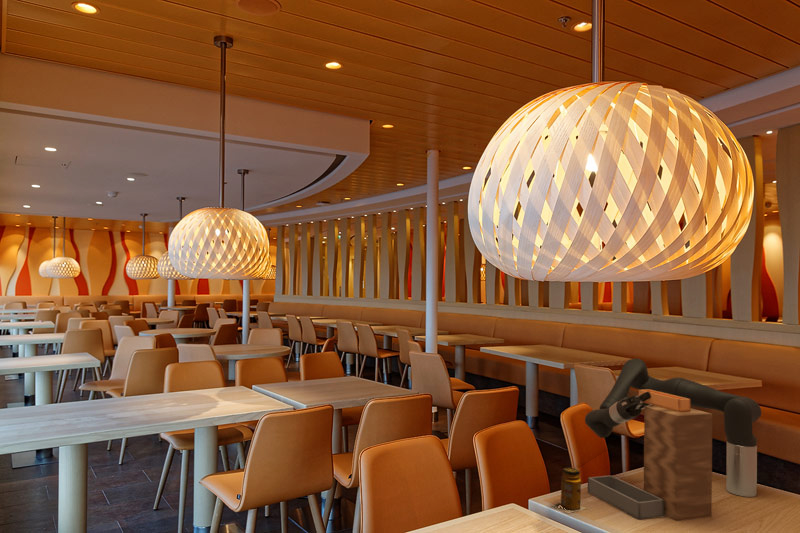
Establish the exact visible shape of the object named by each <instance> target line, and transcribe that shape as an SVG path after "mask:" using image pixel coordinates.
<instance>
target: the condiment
mask: <svg viewBox="0 0 800 533" xmlns="http://www.w3.org/2000/svg"><path fill="white" fill-rule="evenodd" d="M580 476H581V471H580V470H579V469H578V468H575V467H564V468H563V469H562V476H561V479H560V480H561V482H560V483H561V484H560V485H561V487H560V490H561V492H560V502H558V503H555V504H551V505H550V506H551V507H553V508H555V509H557V510H559V511H562V512H563V513H567V514H570V513H575V512H579V511H583V510H586V509H587V508H586V507H584V506H582V505H581V494H582V492H581V491H582V481H581V477H580ZM559 505H561V506H562V507H563V509H562V508H561V507H560V508H558V506H559ZM564 508H565V509H566V510H565V509H564ZM569 510H570V511H569Z"/></svg>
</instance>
